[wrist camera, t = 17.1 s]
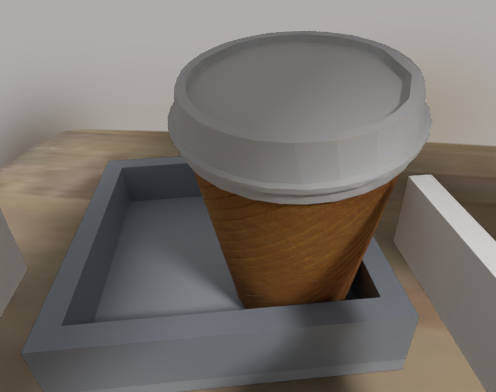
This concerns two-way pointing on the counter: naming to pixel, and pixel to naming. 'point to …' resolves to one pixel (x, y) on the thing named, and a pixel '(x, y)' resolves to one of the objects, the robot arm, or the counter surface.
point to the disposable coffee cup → (297, 154)
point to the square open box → (193, 302)
